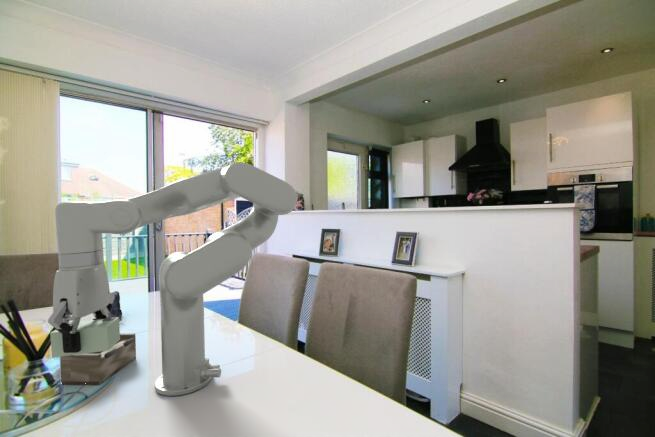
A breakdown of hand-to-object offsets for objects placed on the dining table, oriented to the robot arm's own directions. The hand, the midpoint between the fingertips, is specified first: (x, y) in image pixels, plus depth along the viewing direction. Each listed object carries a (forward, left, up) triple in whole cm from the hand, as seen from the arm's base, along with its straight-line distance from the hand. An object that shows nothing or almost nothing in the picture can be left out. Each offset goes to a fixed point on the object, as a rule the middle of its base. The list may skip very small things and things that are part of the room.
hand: (87, 343), depth 68 cm
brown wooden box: (+10, -16, -14) cm, 23 cm away
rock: (+38, -58, -14) cm, 71 cm away
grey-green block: (0, 0, -1) cm, 1 cm away
